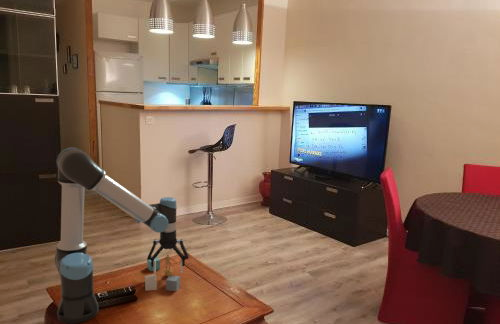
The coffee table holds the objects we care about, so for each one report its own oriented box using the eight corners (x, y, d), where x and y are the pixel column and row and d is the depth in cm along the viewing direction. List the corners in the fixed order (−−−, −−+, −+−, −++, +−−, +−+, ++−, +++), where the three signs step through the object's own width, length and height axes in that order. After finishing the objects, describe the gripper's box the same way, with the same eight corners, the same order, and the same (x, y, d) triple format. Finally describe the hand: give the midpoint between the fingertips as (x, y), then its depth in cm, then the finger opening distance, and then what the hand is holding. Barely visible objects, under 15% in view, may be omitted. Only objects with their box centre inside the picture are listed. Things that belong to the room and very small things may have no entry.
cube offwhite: (145, 291, 179) (145, 280, 178) (145, 285, 183) (144, 275, 182) (156, 289, 180) (156, 279, 179) (156, 284, 185) (156, 274, 184)
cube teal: (150, 271, 198) (150, 262, 197) (147, 267, 202) (147, 258, 201) (160, 269, 200) (160, 260, 200) (156, 265, 205) (156, 256, 204)
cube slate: (165, 290, 180) (165, 280, 179) (169, 285, 185) (169, 275, 184) (176, 291, 179) (176, 281, 178) (179, 286, 184) (179, 276, 183)
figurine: (177, 274, 196) (177, 251, 193) (175, 280, 190) (176, 256, 188) (160, 274, 195) (160, 251, 193) (158, 279, 189) (158, 256, 187)
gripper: (140, 232, 183) (141, 276, 187) (193, 232, 186) (193, 275, 190) (143, 227, 190) (143, 269, 194) (194, 227, 193) (193, 268, 197)
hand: (168, 272), depth 192 cm, fingers open, 12 cm apart
